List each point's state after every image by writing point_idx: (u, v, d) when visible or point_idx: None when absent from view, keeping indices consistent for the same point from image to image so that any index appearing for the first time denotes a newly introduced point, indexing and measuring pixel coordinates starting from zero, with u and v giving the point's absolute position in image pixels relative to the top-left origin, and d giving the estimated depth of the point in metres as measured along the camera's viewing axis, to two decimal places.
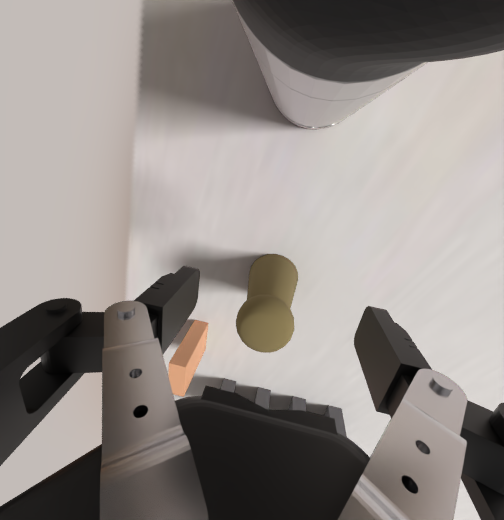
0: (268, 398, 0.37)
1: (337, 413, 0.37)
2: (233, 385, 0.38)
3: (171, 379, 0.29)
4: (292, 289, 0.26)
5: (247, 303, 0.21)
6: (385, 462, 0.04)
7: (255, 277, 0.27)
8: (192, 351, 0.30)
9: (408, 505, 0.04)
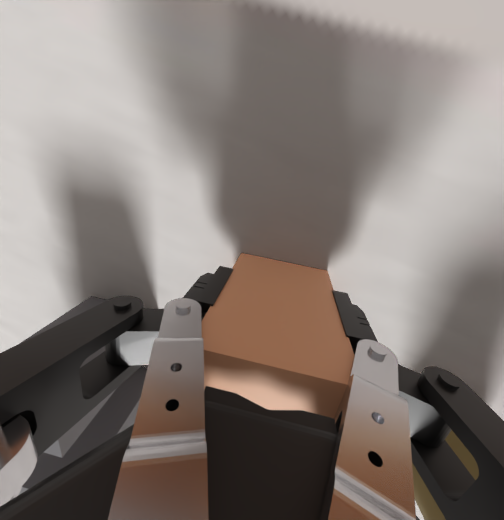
0: None
1: None
2: None
3: (270, 378, 0.07)
4: None
5: None
6: (352, 444, 0.05)
7: None
8: None
9: (378, 481, 0.04)
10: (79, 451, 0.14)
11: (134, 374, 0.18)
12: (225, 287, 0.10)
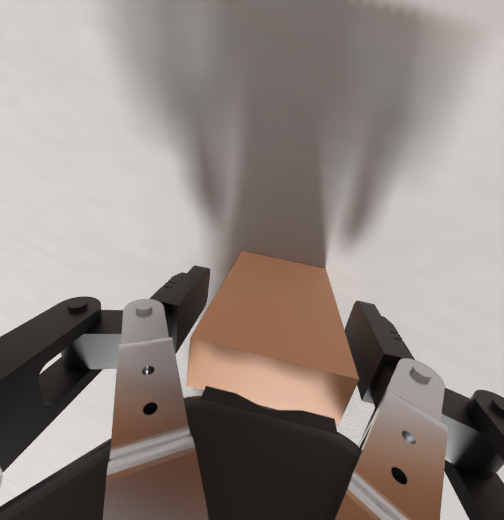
0: None
1: None
2: None
3: (269, 368, 0.07)
4: None
5: None
6: (375, 456, 0.04)
7: None
8: None
9: (399, 497, 0.04)
10: None
11: None
12: (226, 283, 0.11)
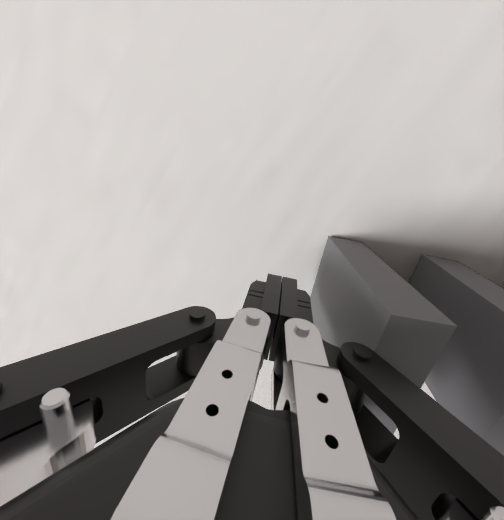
0: None
1: None
2: None
3: None
4: None
5: None
6: (310, 437, 0.05)
7: None
8: None
9: (340, 463, 0.04)
10: None
11: None
12: None
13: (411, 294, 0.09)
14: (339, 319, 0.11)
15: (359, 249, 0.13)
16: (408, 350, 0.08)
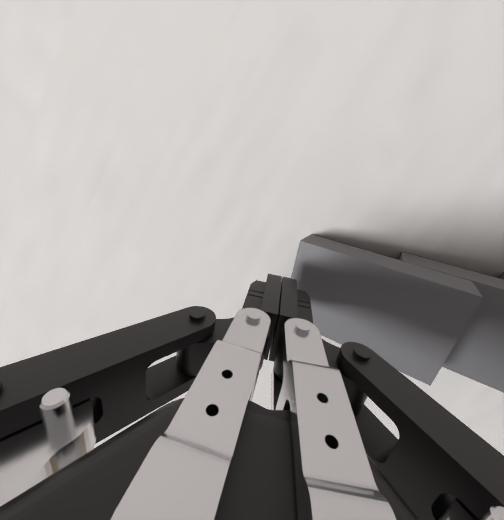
0: None
1: None
2: None
3: None
4: None
5: None
6: (310, 437, 0.05)
7: None
8: None
9: (340, 463, 0.04)
10: None
11: None
12: None
13: (431, 271, 0.12)
14: (384, 314, 0.12)
15: (335, 244, 0.14)
16: None
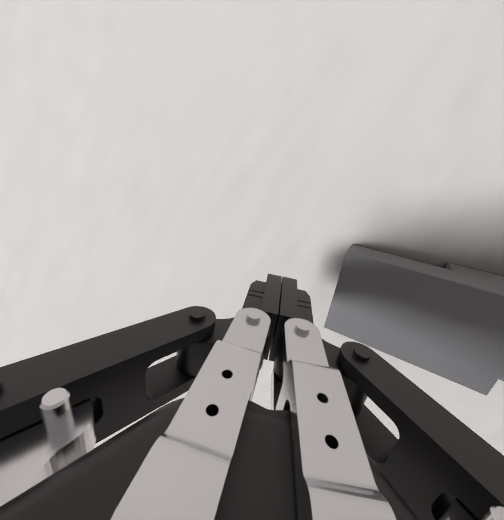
0: None
1: None
2: None
3: None
4: None
5: None
6: (310, 437, 0.05)
7: None
8: None
9: (340, 463, 0.04)
10: None
11: None
12: None
13: (483, 280, 0.12)
14: (437, 325, 0.12)
15: (381, 254, 0.14)
16: None
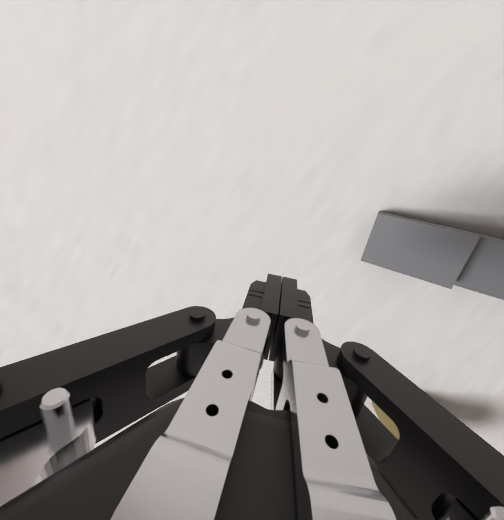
0: None
1: None
2: None
3: None
4: None
5: None
6: (310, 437, 0.05)
7: None
8: None
9: (340, 463, 0.04)
10: None
11: None
12: None
13: (452, 228, 0.23)
14: (426, 252, 0.23)
15: (396, 215, 0.24)
16: None
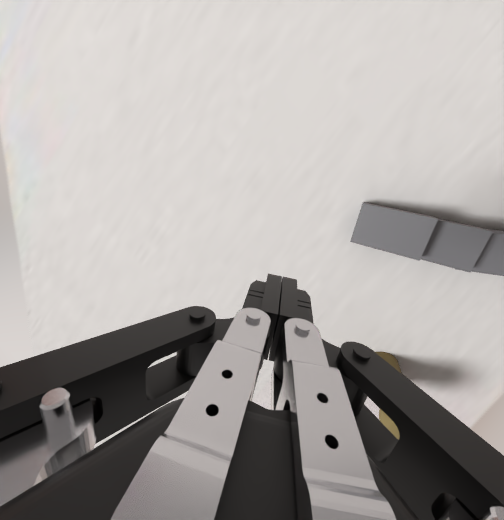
0: None
1: None
2: None
3: None
4: None
5: None
6: (310, 436, 0.05)
7: None
8: None
9: (340, 463, 0.04)
10: None
11: None
12: None
13: None
14: (400, 232, 0.29)
15: (377, 205, 0.31)
16: None
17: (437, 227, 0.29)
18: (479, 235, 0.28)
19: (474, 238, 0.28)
